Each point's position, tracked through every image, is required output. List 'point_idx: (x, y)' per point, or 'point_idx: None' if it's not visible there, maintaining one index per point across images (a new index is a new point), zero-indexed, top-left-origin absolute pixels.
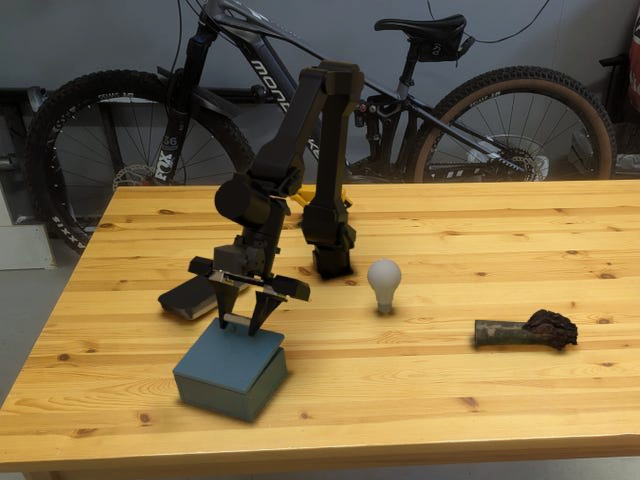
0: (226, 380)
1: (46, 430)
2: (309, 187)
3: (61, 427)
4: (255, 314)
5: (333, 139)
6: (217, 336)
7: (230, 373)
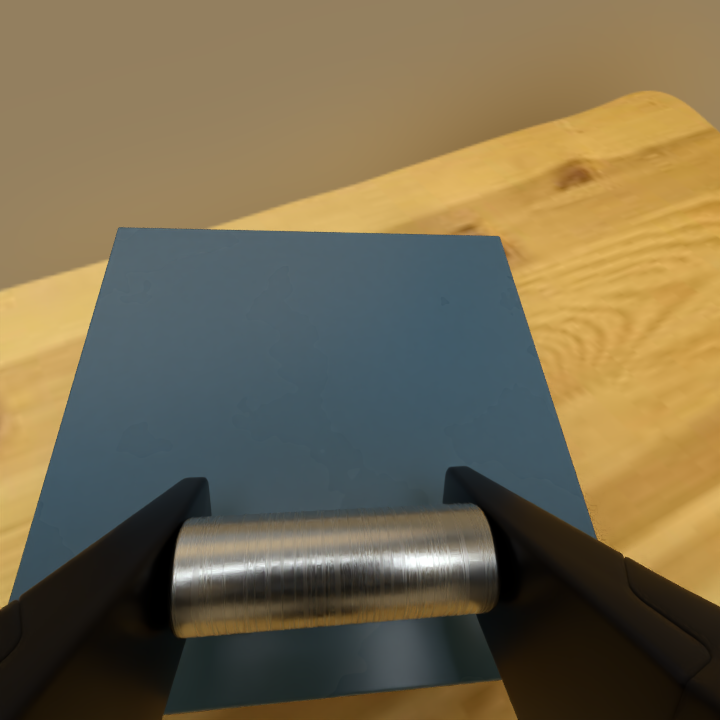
0: (235, 252)
1: (649, 159)
2: None
3: (631, 172)
4: (64, 607)
5: None
6: None
7: (236, 285)
